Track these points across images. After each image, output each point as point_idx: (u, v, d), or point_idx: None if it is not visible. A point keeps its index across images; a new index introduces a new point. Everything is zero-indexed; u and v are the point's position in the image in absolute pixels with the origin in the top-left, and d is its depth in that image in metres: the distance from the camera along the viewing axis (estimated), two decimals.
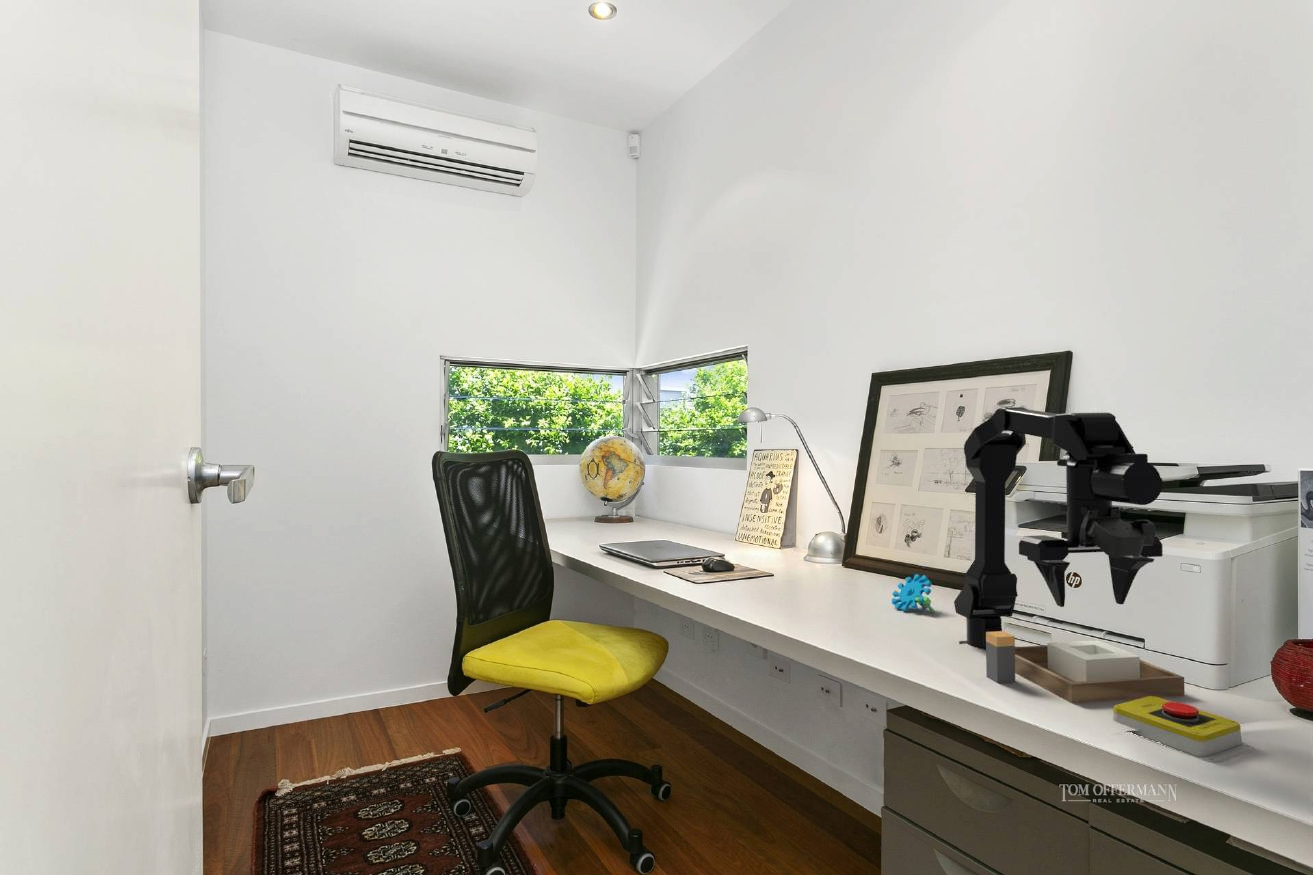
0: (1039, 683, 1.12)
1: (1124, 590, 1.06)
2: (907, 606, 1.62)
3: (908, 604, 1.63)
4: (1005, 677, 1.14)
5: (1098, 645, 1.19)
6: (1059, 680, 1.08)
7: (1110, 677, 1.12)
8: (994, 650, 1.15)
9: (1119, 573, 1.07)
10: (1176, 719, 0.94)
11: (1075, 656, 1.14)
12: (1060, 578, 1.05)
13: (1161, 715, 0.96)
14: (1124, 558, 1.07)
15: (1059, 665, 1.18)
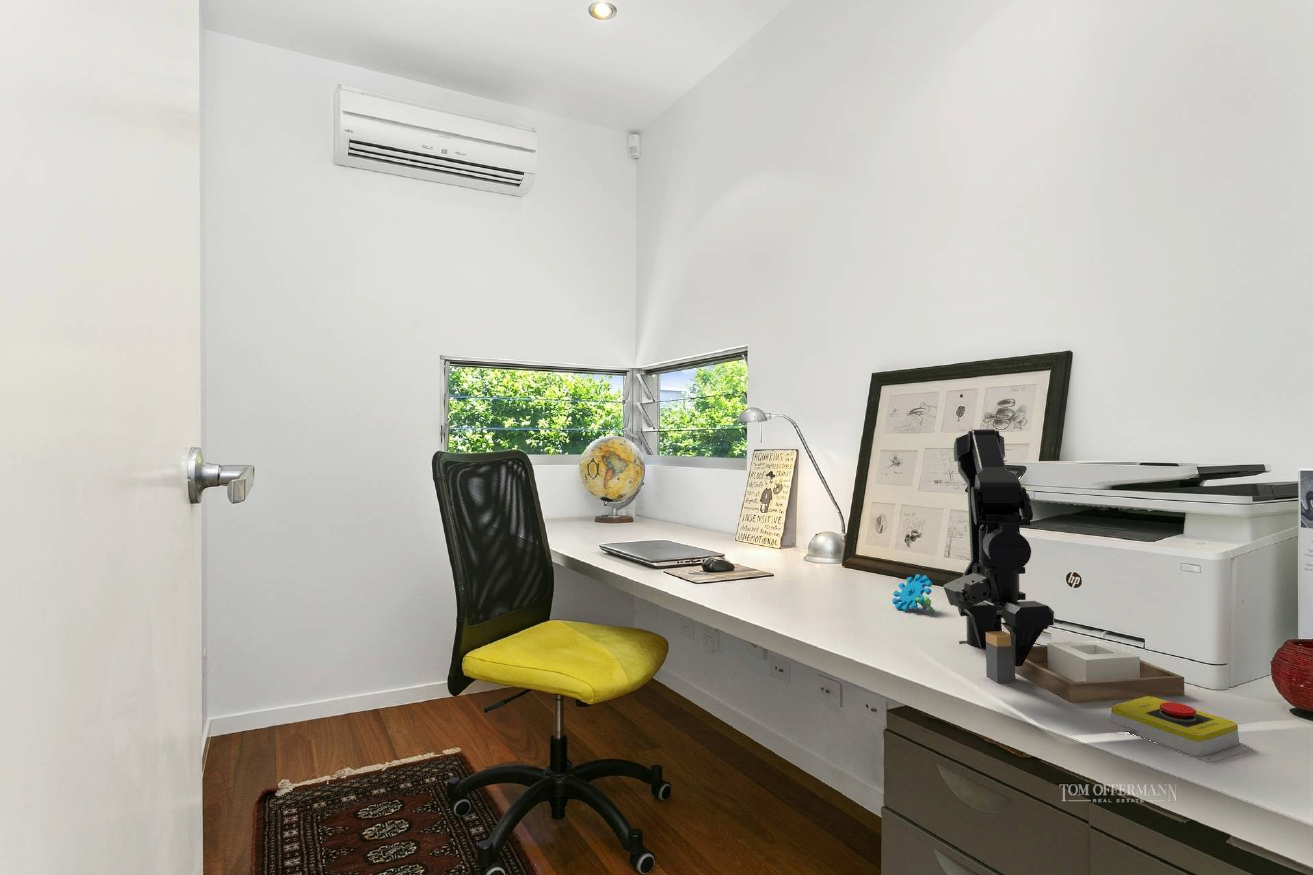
0: (1039, 683, 1.12)
1: (1012, 652, 1.11)
2: (907, 606, 1.62)
3: (908, 604, 1.63)
4: (1005, 677, 1.14)
5: (1098, 645, 1.19)
6: (1059, 680, 1.08)
7: (1110, 677, 1.12)
8: (994, 650, 1.15)
9: None
10: (1173, 719, 0.94)
11: (1075, 656, 1.14)
12: (974, 621, 1.21)
13: (1159, 715, 0.96)
14: None
15: (1059, 665, 1.18)
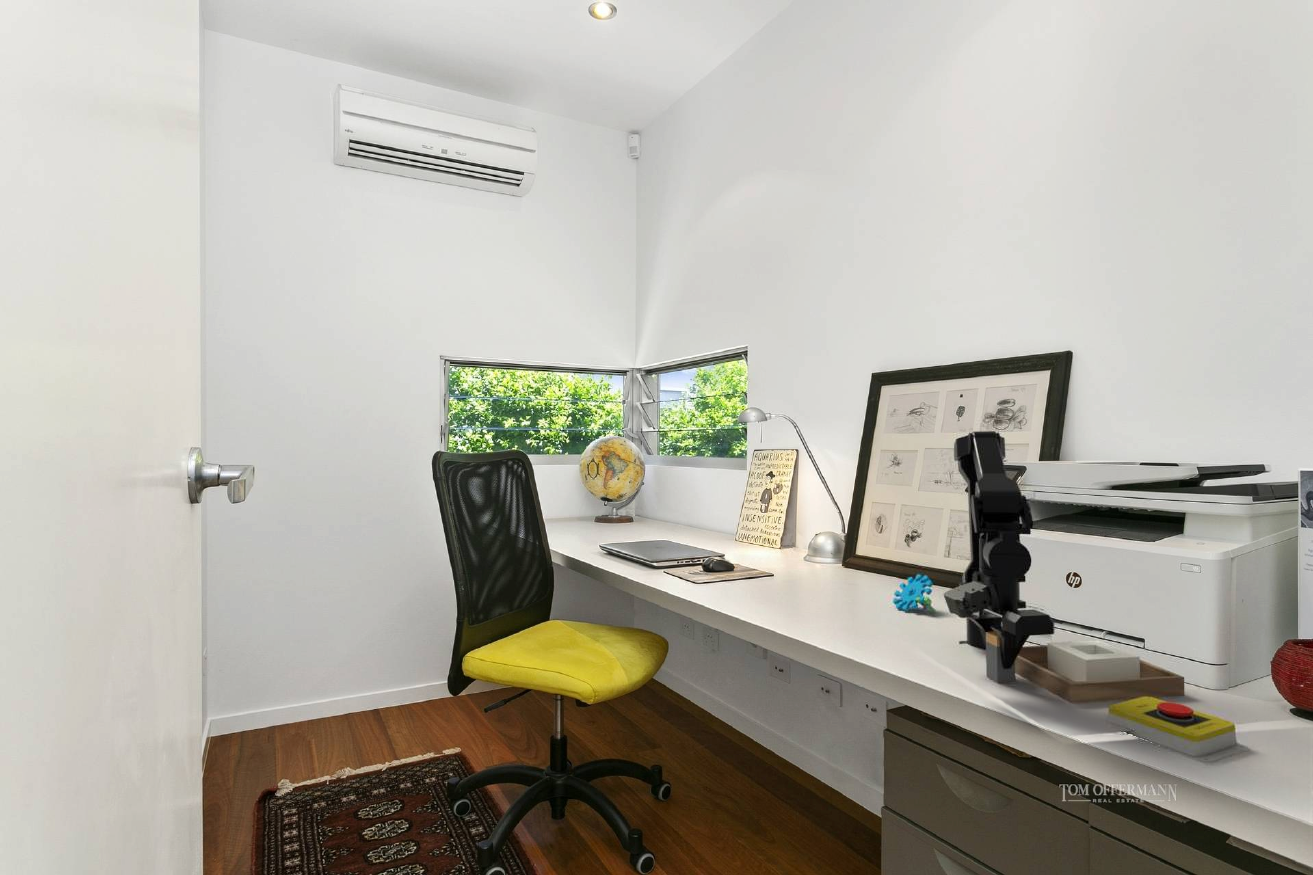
0: (1039, 683, 1.12)
1: (1001, 655, 1.14)
2: (908, 606, 1.62)
3: (909, 604, 1.63)
4: (1005, 677, 1.14)
5: (1098, 645, 1.19)
6: (1059, 680, 1.08)
7: (1110, 677, 1.12)
8: (994, 650, 1.15)
9: None
10: (1171, 719, 0.94)
11: (1075, 656, 1.14)
12: (984, 634, 1.18)
13: (1156, 715, 0.96)
14: None
15: (1059, 665, 1.18)
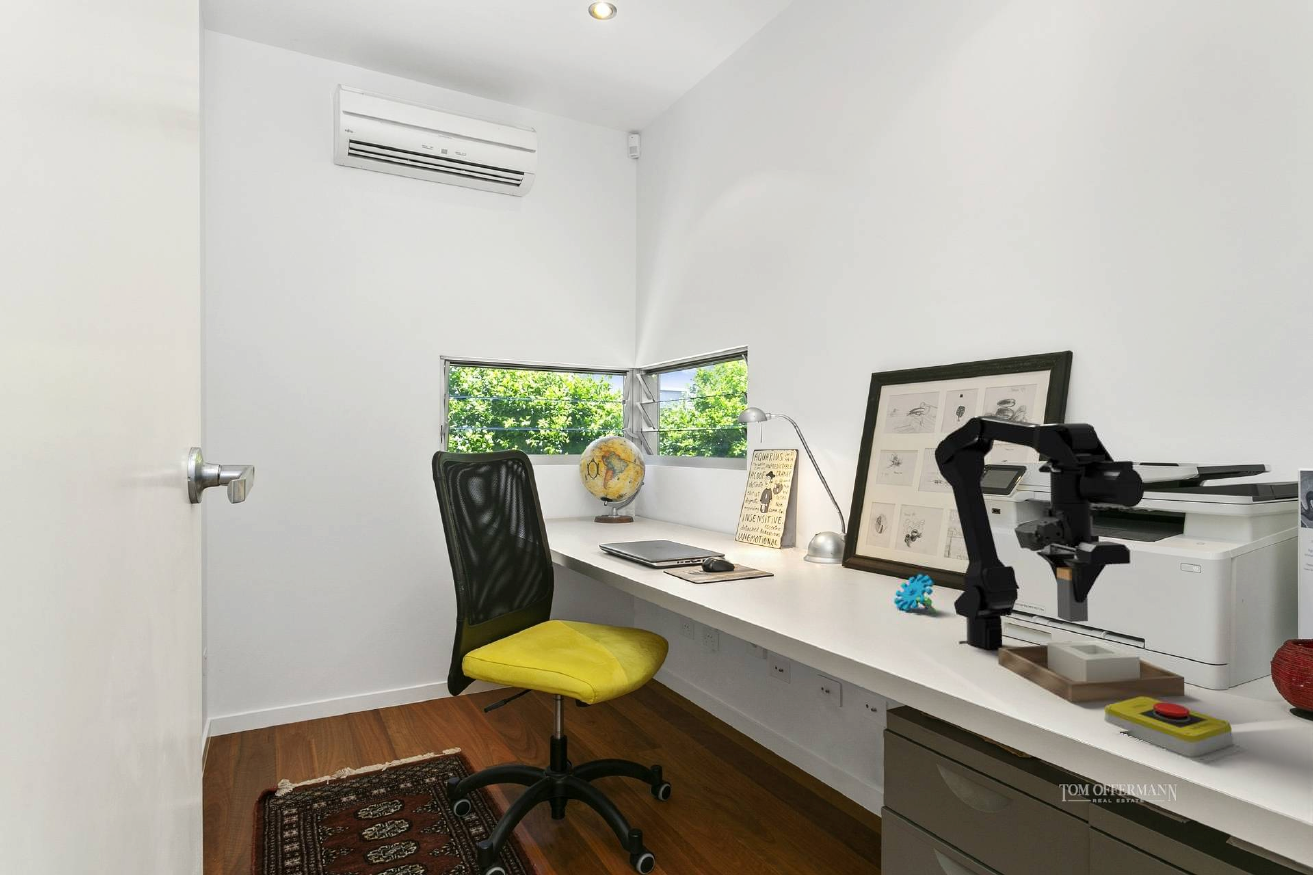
0: (1039, 683, 1.12)
1: (1074, 588, 1.14)
2: (908, 606, 1.63)
3: (909, 604, 1.63)
4: (1077, 611, 1.15)
5: (1098, 645, 1.19)
6: (1059, 680, 1.08)
7: (1110, 677, 1.12)
8: (1066, 584, 1.15)
9: None
10: (1167, 719, 0.94)
11: (1075, 656, 1.14)
12: (1055, 570, 1.18)
13: (1152, 715, 0.96)
14: None
15: (1059, 665, 1.18)
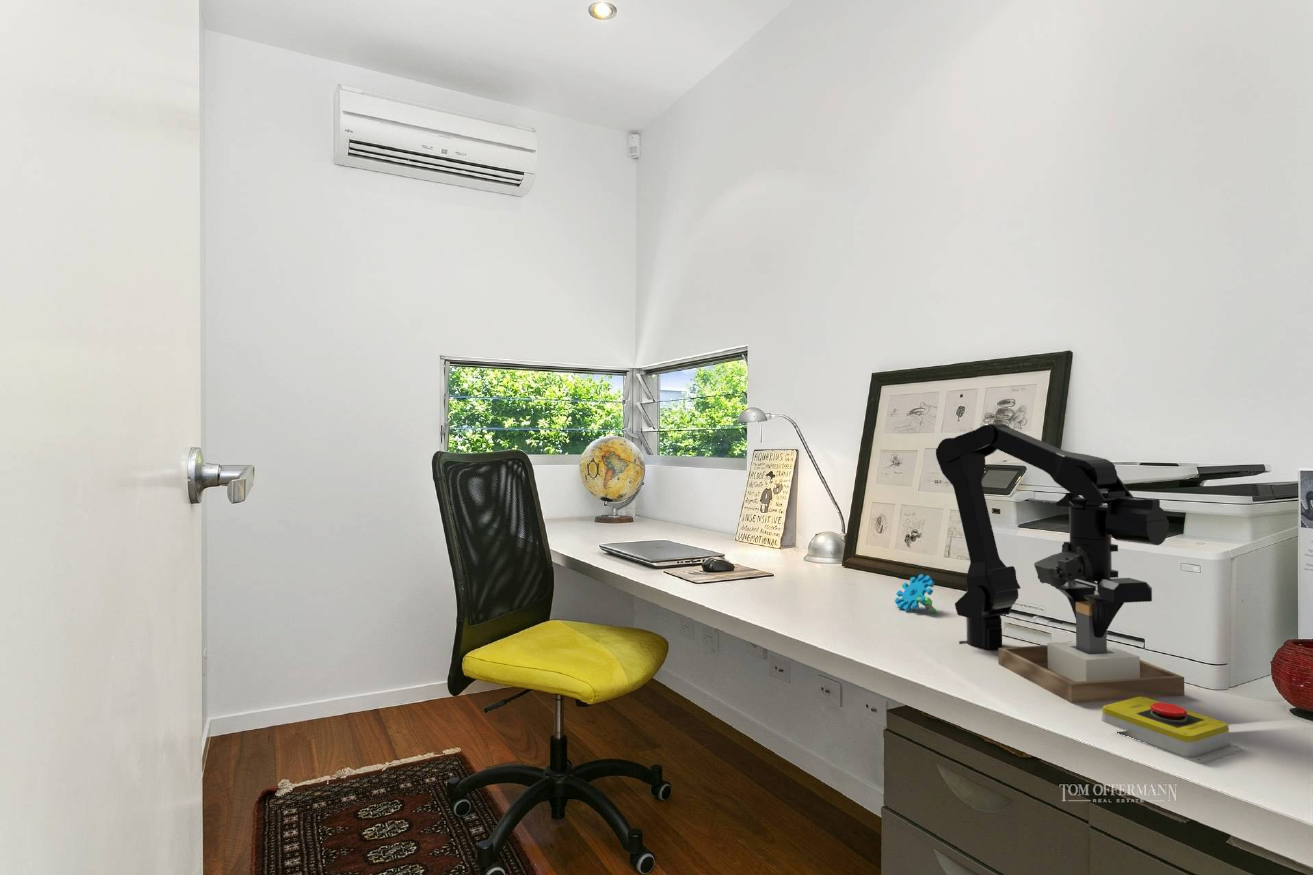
0: (1039, 683, 1.12)
1: (1093, 624, 1.15)
2: (909, 606, 1.63)
3: (910, 604, 1.63)
4: (1097, 646, 1.15)
5: None
6: (1059, 680, 1.08)
7: (1110, 677, 1.12)
8: (1086, 619, 1.16)
9: None
10: (1164, 719, 0.94)
11: (1075, 656, 1.14)
12: (1073, 604, 1.19)
13: (1149, 715, 0.96)
14: None
15: (1059, 665, 1.18)
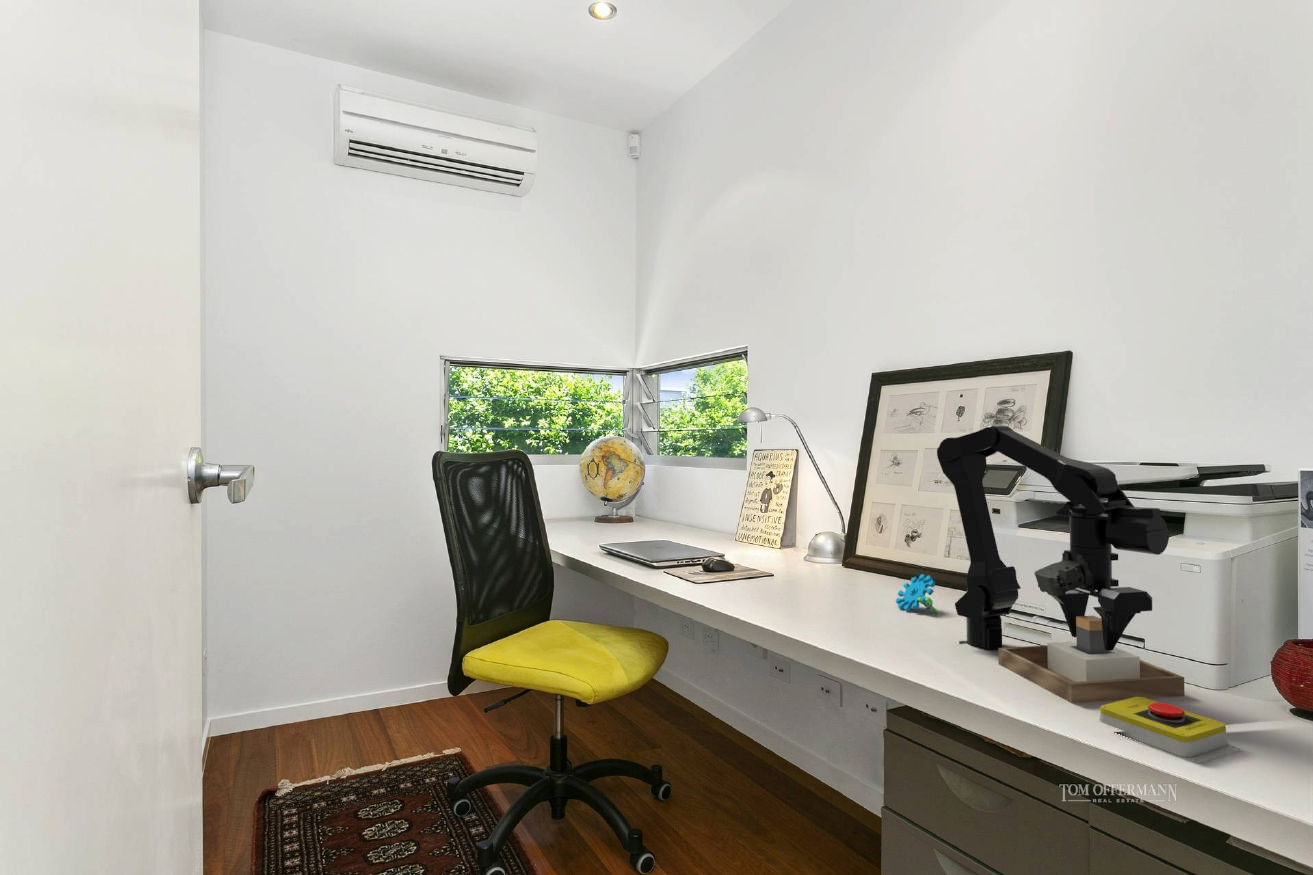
0: (1039, 683, 1.12)
1: (1103, 636, 1.13)
2: (909, 606, 1.63)
3: (911, 604, 1.63)
4: None
5: None
6: (1059, 680, 1.08)
7: (1110, 677, 1.12)
8: (1086, 634, 1.16)
9: None
10: (1162, 720, 0.94)
11: (1075, 656, 1.14)
12: (1065, 610, 1.21)
13: (1147, 716, 0.96)
14: None
15: (1059, 665, 1.18)
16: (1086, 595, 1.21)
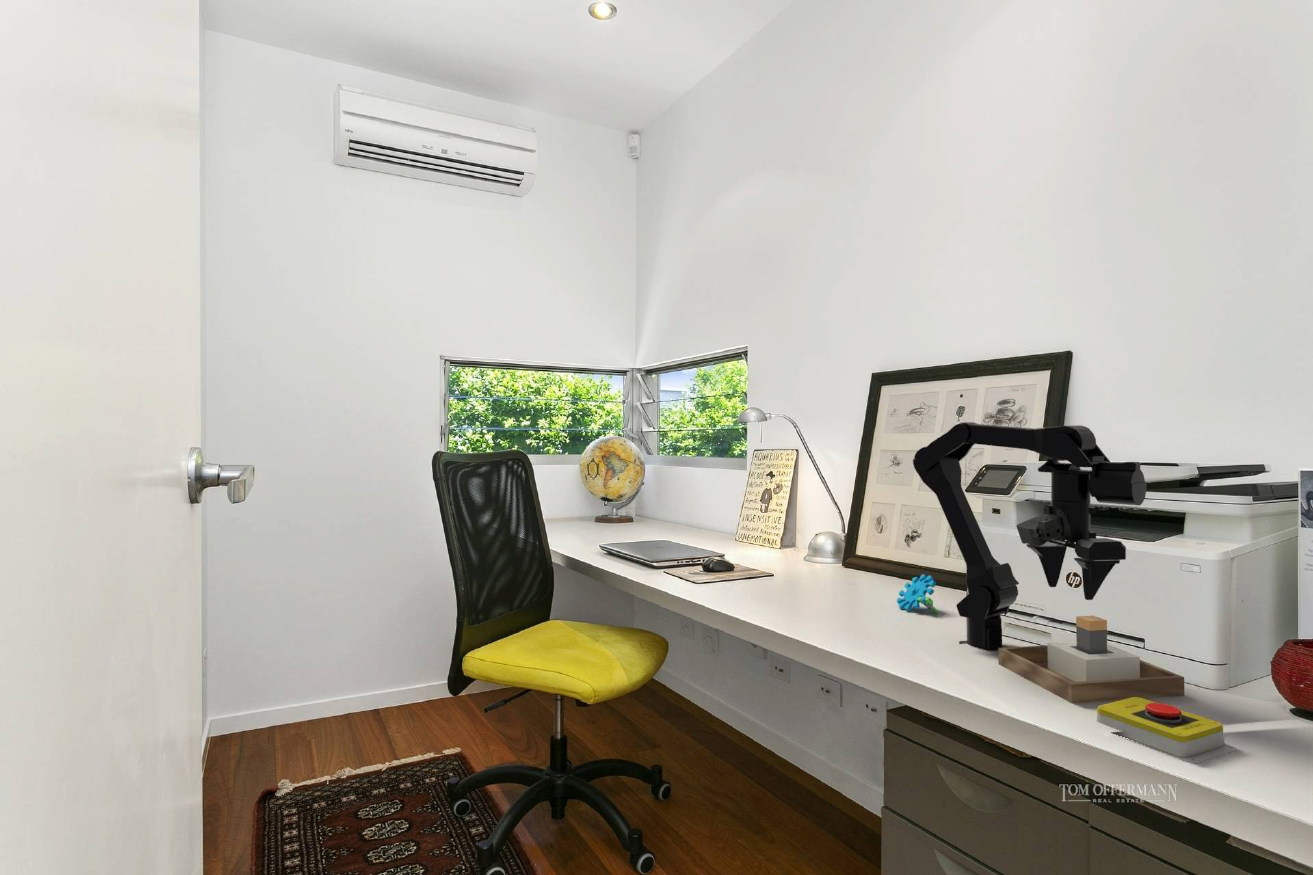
0: (1039, 683, 1.12)
1: (1083, 586, 1.18)
2: (910, 606, 1.63)
3: (911, 604, 1.63)
4: None
5: None
6: (1059, 680, 1.08)
7: (1110, 677, 1.12)
8: (1086, 634, 1.16)
9: None
10: (1159, 720, 0.94)
11: (1075, 656, 1.14)
12: (1043, 561, 1.27)
13: (1144, 716, 0.96)
14: None
15: (1059, 665, 1.18)
16: (1064, 548, 1.28)
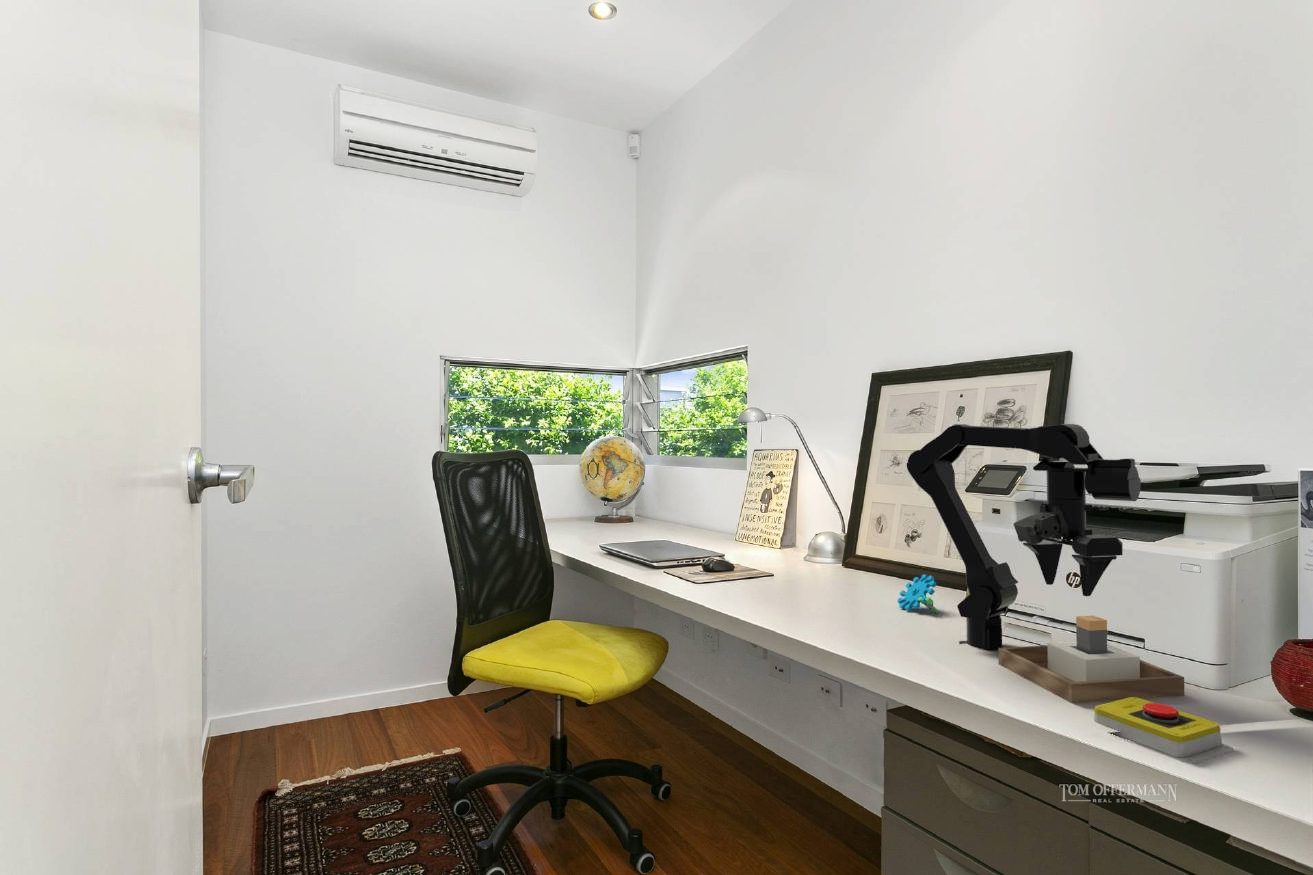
0: (1039, 683, 1.12)
1: (1081, 583, 1.19)
2: (910, 606, 1.63)
3: (912, 604, 1.63)
4: None
5: None
6: (1059, 680, 1.08)
7: (1110, 677, 1.12)
8: (1086, 634, 1.16)
9: None
10: (1156, 720, 0.94)
11: (1075, 656, 1.14)
12: (1040, 559, 1.29)
13: (1141, 716, 0.95)
14: None
15: (1059, 665, 1.18)
16: (1059, 545, 1.29)
